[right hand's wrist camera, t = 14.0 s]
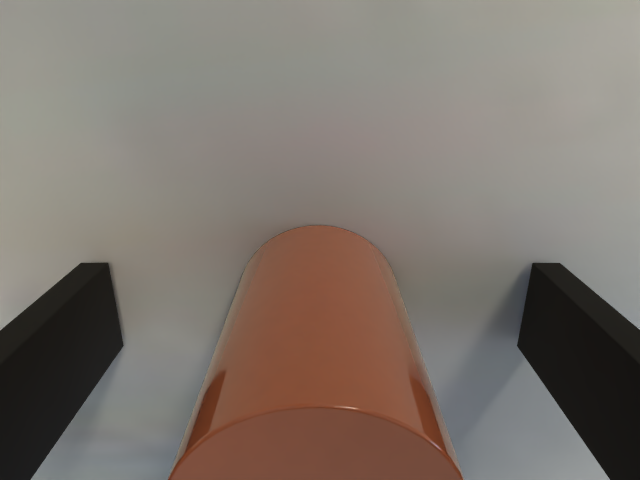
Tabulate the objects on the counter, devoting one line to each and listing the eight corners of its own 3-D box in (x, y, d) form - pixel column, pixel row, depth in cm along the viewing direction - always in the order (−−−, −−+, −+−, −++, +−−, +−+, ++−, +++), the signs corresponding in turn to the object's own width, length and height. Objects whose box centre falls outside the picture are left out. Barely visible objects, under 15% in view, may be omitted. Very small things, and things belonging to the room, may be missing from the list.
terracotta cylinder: (290, 193, 12) (255, 348, 6) (429, 276, 13) (538, 492, 6) (211, 320, 14) (110, 561, 7) (341, 387, 14) (358, 656, 8)
